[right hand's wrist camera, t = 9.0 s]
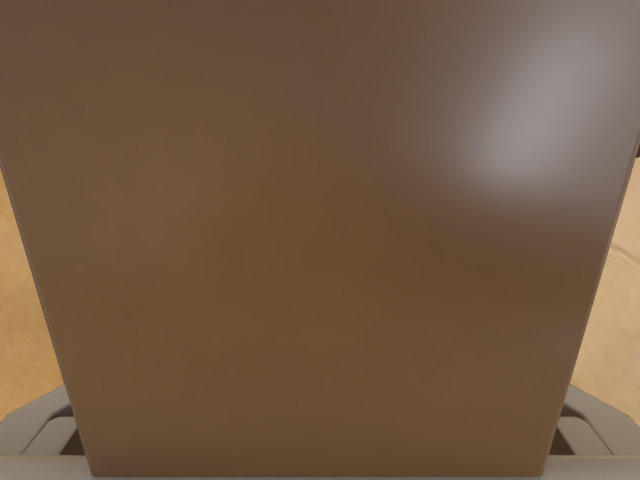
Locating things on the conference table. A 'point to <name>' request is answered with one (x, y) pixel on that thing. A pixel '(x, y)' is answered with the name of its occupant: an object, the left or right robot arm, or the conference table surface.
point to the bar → (317, 223)
